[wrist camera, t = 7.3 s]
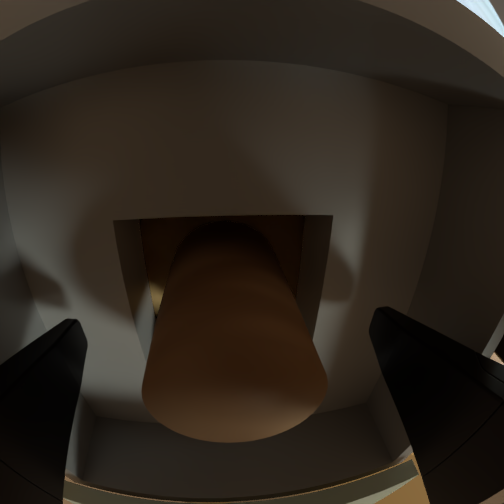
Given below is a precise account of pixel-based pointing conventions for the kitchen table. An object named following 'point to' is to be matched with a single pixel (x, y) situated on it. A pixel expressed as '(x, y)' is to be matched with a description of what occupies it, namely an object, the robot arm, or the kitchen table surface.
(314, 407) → the peg
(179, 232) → the kitchen table surface
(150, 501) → the lid
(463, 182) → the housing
